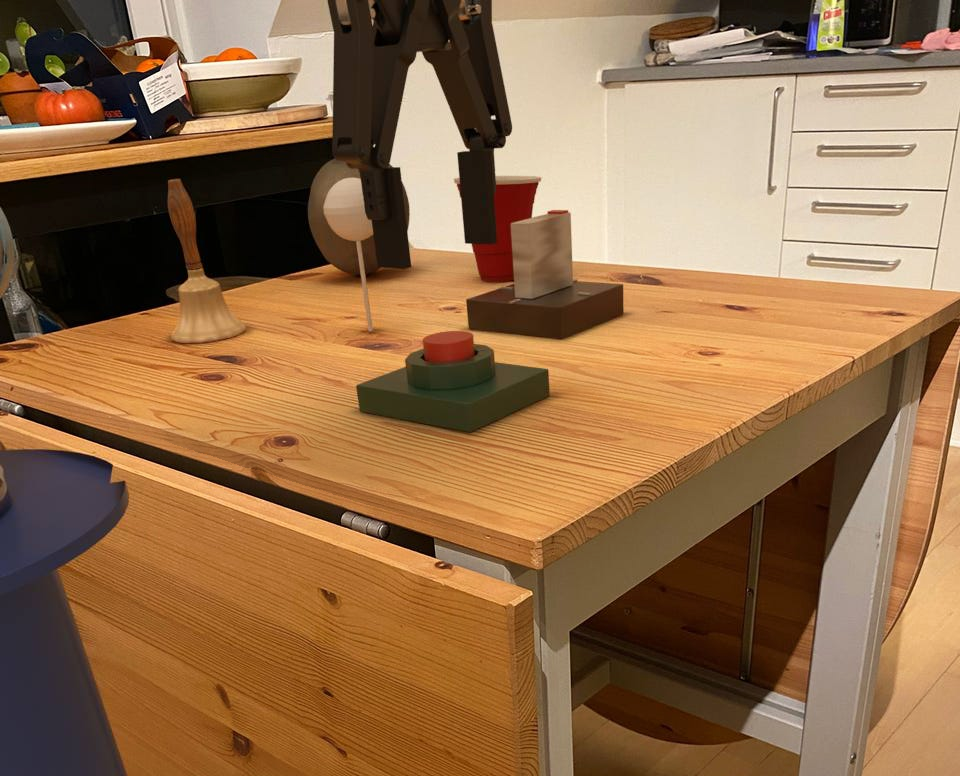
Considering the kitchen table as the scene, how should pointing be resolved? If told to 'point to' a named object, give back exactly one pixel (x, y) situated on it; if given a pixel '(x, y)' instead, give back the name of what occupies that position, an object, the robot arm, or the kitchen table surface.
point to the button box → (454, 390)
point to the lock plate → (546, 310)
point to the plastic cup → (505, 225)
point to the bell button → (448, 346)
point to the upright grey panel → (542, 254)
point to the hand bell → (197, 282)
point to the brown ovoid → (326, 239)
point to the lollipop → (350, 222)
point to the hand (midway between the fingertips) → (439, 254)
